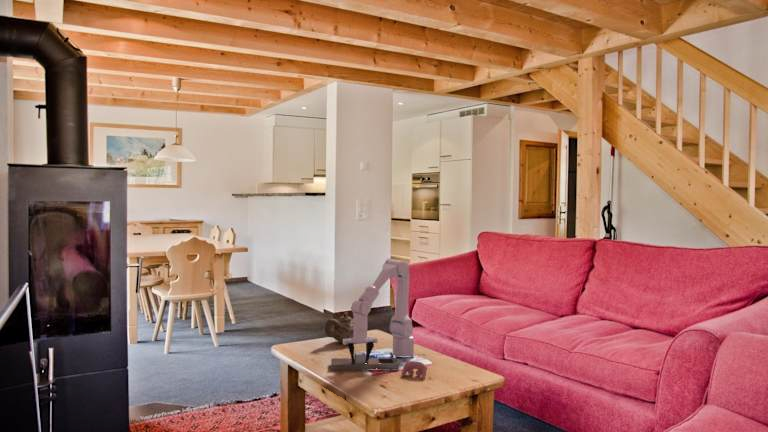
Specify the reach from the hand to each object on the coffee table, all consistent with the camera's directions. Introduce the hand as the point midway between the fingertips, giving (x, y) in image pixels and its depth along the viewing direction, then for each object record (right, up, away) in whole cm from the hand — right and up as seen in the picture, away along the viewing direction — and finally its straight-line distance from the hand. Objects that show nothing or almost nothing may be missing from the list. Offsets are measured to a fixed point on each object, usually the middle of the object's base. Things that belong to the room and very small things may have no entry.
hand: (359, 360), depth 234 cm
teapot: (-9, -1, +34) cm, 36 cm away
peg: (0, -3, 0) cm, 3 cm away
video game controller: (+22, -4, -9) cm, 25 cm away
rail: (+2, -3, 0) cm, 4 cm away
